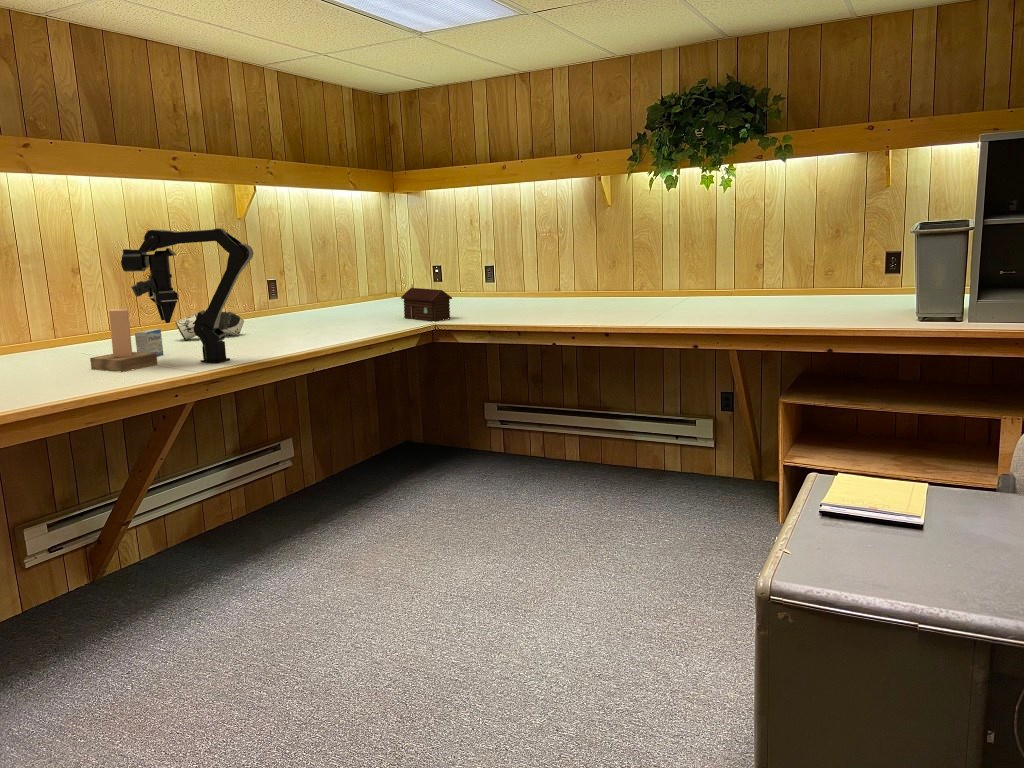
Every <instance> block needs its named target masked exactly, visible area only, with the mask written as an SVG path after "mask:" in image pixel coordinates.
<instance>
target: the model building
mask: <svg viewBox="0 0 1024 768" xmlns="http://www.w3.org/2000/svg"><path fill="white" fill-rule="evenodd" d="M400 299H401V300H403V317H404V319H410V320H415V321H416V320H417V321H423V322H425V321H426V322H432V321H434V322H439V320H442V321H444V320H443V319H448V318H450V319H451V314H450V313H451V310H450V309H451V307H450V305H451V304H450V303H451V302H450V300H453V297H452V296H450V295H449V294H448V293H447V292H445V291H444V290H442V289H433V288H432V289H431V288H418V287H414V286H413V284H412V283H411V287H410V288H409V289H408V290H406V292H405V293H403V294H402V295H401V297H400Z"/></svg>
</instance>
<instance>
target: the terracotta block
mask: <svg viewBox="0 0 1024 768" xmlns="http://www.w3.org/2000/svg"><path fill="white" fill-rule="evenodd" d="M108 314H109V315H108V316H109V324H110V334H111V335H110V336H111V347H112V354H113V357H129V356H132V352H133V348H132V346H133V345H132V336H131V326H130V325H131V324H130V315H129V308H117V309H113V308H111V309H109V311H108Z"/></svg>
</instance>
